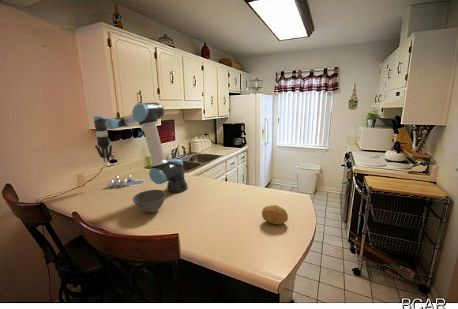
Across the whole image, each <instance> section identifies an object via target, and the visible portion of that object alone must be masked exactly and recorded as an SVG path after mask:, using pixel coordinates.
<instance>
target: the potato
mask: <svg viewBox="0 0 458 309" xmlns="http://www.w3.org/2000/svg"><path fill="white" fill-rule="evenodd" d="M261 216H262V219H263V220H264V221H266V222H268V223H269V224H272V225H279V226H281V225H284V224H285V223H287V221H288V220H289V217H288V216H289V215H288V213H287V210H286V209H284V208H283V207H281V206H280V205H277V204H274V205H272V204H271V205H268V206H265V207H264V208H262V211H261Z"/></svg>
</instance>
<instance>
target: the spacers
mask: <svg viewBox="0 0 458 309" xmlns="http://www.w3.org/2000/svg"><path fill="white" fill-rule="evenodd" d="M126 176H127V178H125V179H120V177H119V175H115V176H114V180H112V179H111V180H108V185H109V184H110V188H109V189H113V188H112V187H114V181H115V182H116V185H117V188H121V187H120V186H121V183H120V180H122V181H123V186H124V187H123V188H126V186H127V181H128V182H131V181H132V180H133V179H132V174H128V175H126Z"/></svg>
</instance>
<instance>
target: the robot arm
mask: <svg viewBox="0 0 458 309" xmlns="http://www.w3.org/2000/svg"><path fill="white" fill-rule="evenodd" d="M164 114H165V108H164V106H163V105H162V104H160V103H158V102H140V103H136V104H135V105H134V106H133V109H132V113H131V114H129V115H125V116H122V117H113V118H112V117H111V118H106V117H105V116H104V115H95V116H93V123H94V128H95V135H96V139H97V144H96V145H94V148H95V149H96V150H97V152H98V155H99V157H100V158H103V162H104V164H105V167H109V166H110V161H111V160H110V157H112V155H113V154H112V153H113V147H114V144H111V142H110V140H109V139H110V138H109V136H108V134H109V133H108V130H114V129H119V128H128V127H131V126H132V125H133V126H134V125H136V124H138V125H139V126H140V127H141V128H142V130H143V134H144V138H145V142H146V144H147V148H148V152H149V155H150V159H151V163H150V168H151V169H150V170H149V174H148V176H149V178H150V180H151V181H152V183H154V184H156V185H161V184H165V183H166V182H167V185H166V190H167V192H168V193H170V194H176V193H177V194H178V193H182V192H185V191H186V190H188V183H187V181H186V179H185V170H184V161H183V160H182V159H179V158H178V159H177V158H171V159H166V158H165V153H164V150H163V146H162V142H161V139H160V136H159V131H158V128H157V124H158V123H159V121H158V120H160V119H162V118H163V117H164Z"/></svg>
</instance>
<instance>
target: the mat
mask: <svg viewBox="0 0 458 309" xmlns="http://www.w3.org/2000/svg"><path fill="white" fill-rule="evenodd" d="M145 180H146V179H132V181H131V182H128V180H127V186H126V187H127V188H128V187H140V186H142V184H143V183H145V182H144V181H145ZM113 182H114V187H112V188H110V184H109V183H108V185H106V187H105V189H114V188H115V189H116V188H118V187H117V185H116V182H115V180H113ZM126 187H124V186H123V185H121V186H120V187H119V188H126Z"/></svg>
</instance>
